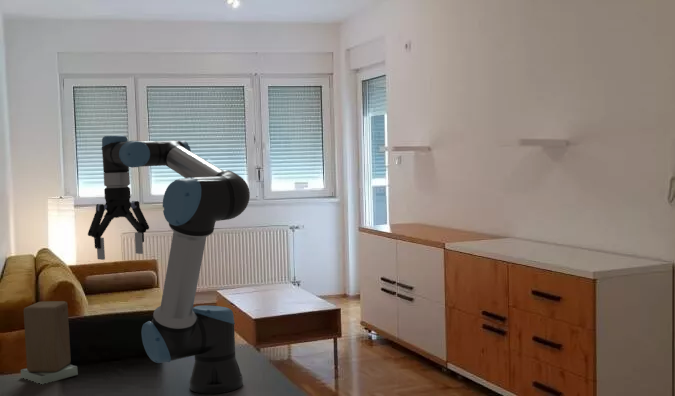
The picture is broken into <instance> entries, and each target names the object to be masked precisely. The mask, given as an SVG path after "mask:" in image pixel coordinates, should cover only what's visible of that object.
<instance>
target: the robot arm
mask: <svg viewBox="0 0 675 396" xmlns="http://www.w3.org/2000/svg"><path fill="white" fill-rule="evenodd" d="M101 153H102V167H103V185H104V187H105V188H104V200H105V204H103V203H98V204H96V205H95V213H94V215H93V218H92V220H91V224H90V227H89V229H88V231H87V236H89V237H91V238H93V241H94V242H93V243H94V248H95V249H96V252H97V255H96V257H97V260H100V261H101V260H103V261H104V260H106V256H105V254H106V253H105V250H106V249H105V239H104V237H103V234H104V233H105V231H106V230H107V228H108V226H110V224H111V222H112V220H114V219H118V218H125V219H126V220H127V221H128V222H129V224H130V225H131V226H132V227H133V229H134V230H135V232H134V244H135V245H134V246H135V254H140V255H143V254H144V248H143V247H144V246H143V243H145V233H146V232H147V230H149V229H150V226H149V224H148V222H147V219H146V218H145V216H144V213H143V212H142V209H141V207H140V201H138V200H132V201H131V200H130V199H131V188H130V186H129V185H131V178H130V168H133V169H134V168H140V167H143V168H144V167H157V166H158V167H161V166H162V167H163V166H165V167H167V168H168V169H169V168H170V169H171V170H172V171H174V172H175V173H177V174H179V175H180V176H182V178H178V179H174V181H172V182H170V184H168V186H167V187H166V189H165V192H164V195H163V198H162V208H163V211H162V212H163V215H164V218H165V221H166V222H167V223H168V226H169V228H170V230H172V232H173V233H172V238H171V242H170V243H171V244H170V249H169V254H168V262H167V268H166V273H165V279H164V282H163V283H164V284H163V290H162V295H161V302H160V305H159V306H158V307H156V308H155V309H154V310H153V314H152V315H153V316H152V320H151V321H150V320H148V321H146V322H145V323H143V324H142V327H141V341H142V345H143V349H144V350H145V353H146V355H147V356H148V357H149V359H150V360H151V361H152V362H154V363H157V364H161V363H170V362H171V361H177V360H181V359H185V358H189V357H190V358H191V357H194V362H193V367H192V371H191V376H190V378H189V389H190V390H191V391H192V392H194V393H196V394H197V393H198V394H205V395H207V394H208V395H215V394H217V395H218V394H223V393H229V392H233V391H236V390H238V389H240V388H241V387H242V386H243V384H244V382H243V381H244V380H243V374H242V373H241V370H240V366H239V364H238V361H237V358H236V357H237V356H236V340H235V335H236V334H235V317H234V312H233V310H232V309H231V308H229V307H225V306H220V305H219V306H218V305H195V306H194V303H195V298H196V293H197V287H198V281H199V277H200V273H201V272H200V271H201V267H202V261H203V256H204V251H205V247H206V241H207V237H209V236H211V235H212V234H213V233H214V232H215V231H214V230H215V225H216V222H220V221H221V222H222V221H226V220H227V221H228V220H233V219H234V218H236V217H239V216H240V215H241V214H243V212H244V211H245V210H246V209H247V207H248V205H249V202H250V195H251V194H250V188H249V186H248V183H247V182H246V181H245V179H244V178H243V177H242V176H240V175H239V174H237V173H235V172H234V171H232V170H227V169H224V170H223V169H221V168H219V167H218V166H217V165H214V164H213V163H211V162H209V161H207V160H206V159H204V158H203V157H201V156H200V155H198V154H195V152H193V151H192V149H191V147H190V145H189V143H188V142H187V141H186V140H179V139H171V140H128V137H127V136H126V135H104V136H103V137H102V139H101ZM131 209H132V211H131ZM105 211H106V212H105ZM133 213H134V215H133Z"/></svg>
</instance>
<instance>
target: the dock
mask: <svg viewBox="0 0 675 396" xmlns="http://www.w3.org/2000/svg"><path fill="white" fill-rule="evenodd" d="M78 372H79V371H78V366H77V365H73V364H71V363H70V364H68V365H67V366H65V367H63V368H62V369H60V370H59V371H57V372H29V371H28V370H27V368H22V369H20V378H21V379H23V378H24V379H23V380H26V379H28V380H27V381H29V380H31V381H30V382H32V381H34V382H33V383H35V382H37V383H36V384H38V383H40V384H39V385H41V384H42V385H45V384H44V383H46V384H49V383H48V382H50V383H52V381H53V382H56V381H59V380H64V379H67V378H70V377H74V376H78V375H79V373H78Z"/></svg>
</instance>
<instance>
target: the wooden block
mask: <svg viewBox="0 0 675 396" xmlns="http://www.w3.org/2000/svg"><path fill="white" fill-rule="evenodd" d="M68 305H69V304H68V301H64V300H61V301H60V300H59V301H58V300H57V301H38V302H35V303H33V304H31V305H29V306H26V307H24V308H23V323H24V326H23V327H24V339H25V340H24V342H25V356H26V369H27V370H28V371H29V372H57V371H59V370H60V369H62V368H63V367H65V366H67V365H68V364H70V365H71V344H70V343H71V342H70V341H71V340H70V327H69V323H70V322H69V307H68Z"/></svg>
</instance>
